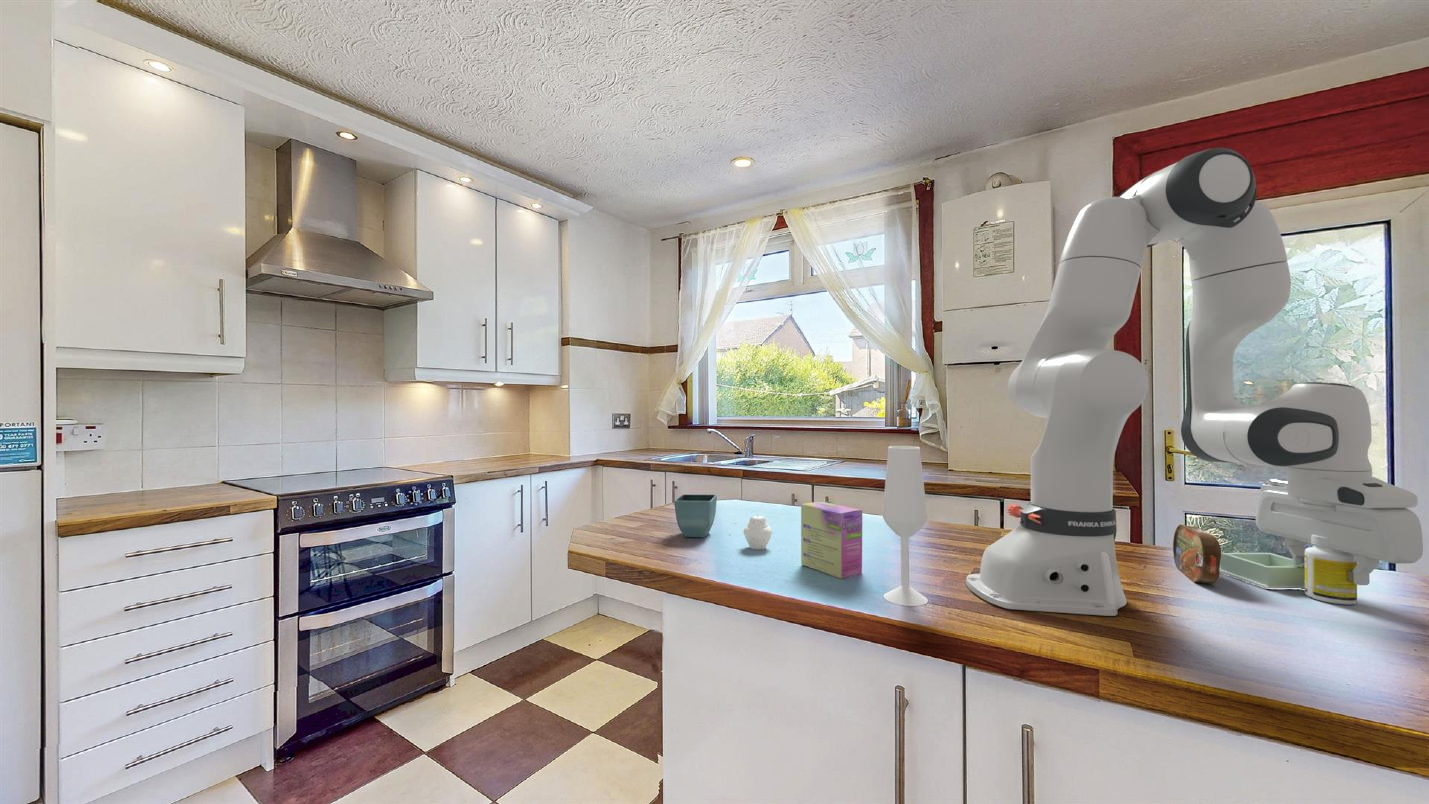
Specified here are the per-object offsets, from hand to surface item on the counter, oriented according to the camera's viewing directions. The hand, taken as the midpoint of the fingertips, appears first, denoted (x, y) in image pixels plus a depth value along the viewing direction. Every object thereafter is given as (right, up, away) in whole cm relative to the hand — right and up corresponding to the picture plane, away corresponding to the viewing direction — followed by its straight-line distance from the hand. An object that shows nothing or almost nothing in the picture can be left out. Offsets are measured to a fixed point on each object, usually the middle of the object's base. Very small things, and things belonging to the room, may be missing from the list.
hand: (1329, 575), depth 85 cm
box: (-74, -5, +17) cm, 76 cm away
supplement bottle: (0, -4, 0) cm, 4 cm away
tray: (-1, -4, +8) cm, 9 cm away
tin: (-11, -4, +11) cm, 16 cm away
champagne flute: (-65, -4, +2) cm, 65 cm away
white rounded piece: (-86, -5, +33) cm, 92 cm away
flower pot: (-100, -5, +44) cm, 109 cm away
